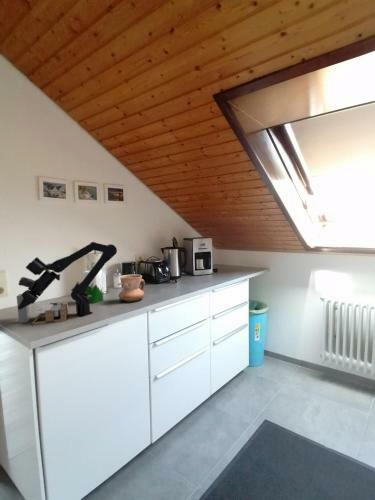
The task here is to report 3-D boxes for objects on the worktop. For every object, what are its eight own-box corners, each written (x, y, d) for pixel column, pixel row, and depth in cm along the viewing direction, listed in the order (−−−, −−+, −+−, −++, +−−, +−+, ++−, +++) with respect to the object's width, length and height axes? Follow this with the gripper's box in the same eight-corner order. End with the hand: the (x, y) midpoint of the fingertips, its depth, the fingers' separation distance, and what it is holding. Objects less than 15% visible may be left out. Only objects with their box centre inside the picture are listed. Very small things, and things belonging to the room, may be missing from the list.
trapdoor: (58, 316, 132) (58, 309, 132) (35, 317, 129) (35, 311, 129) (61, 309, 144) (61, 303, 143) (40, 311, 141) (40, 304, 140)
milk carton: (105, 300, 168) (103, 266, 167) (93, 304, 160) (90, 268, 159) (95, 298, 173) (93, 266, 171) (83, 302, 165) (80, 268, 164)
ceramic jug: (126, 305, 155) (125, 279, 154) (112, 300, 165) (111, 276, 164) (152, 299, 168) (152, 275, 167) (138, 295, 178) (137, 272, 177)
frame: (65, 320, 131) (64, 309, 131) (32, 325, 127) (31, 312, 127) (68, 311, 146) (67, 301, 146) (39, 315, 142) (38, 304, 142)
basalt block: (29, 319, 136) (27, 293, 135) (27, 322, 132) (25, 295, 131) (21, 320, 135) (19, 294, 134) (19, 323, 131) (16, 296, 130)
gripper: (33, 268, 142) (10, 292, 139) (24, 273, 124) (-3, 301, 122) (52, 282, 145) (30, 306, 142) (46, 289, 127) (20, 317, 124)
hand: (19, 307), depth 133 cm, fingers closed on basalt block, 5 cm apart
